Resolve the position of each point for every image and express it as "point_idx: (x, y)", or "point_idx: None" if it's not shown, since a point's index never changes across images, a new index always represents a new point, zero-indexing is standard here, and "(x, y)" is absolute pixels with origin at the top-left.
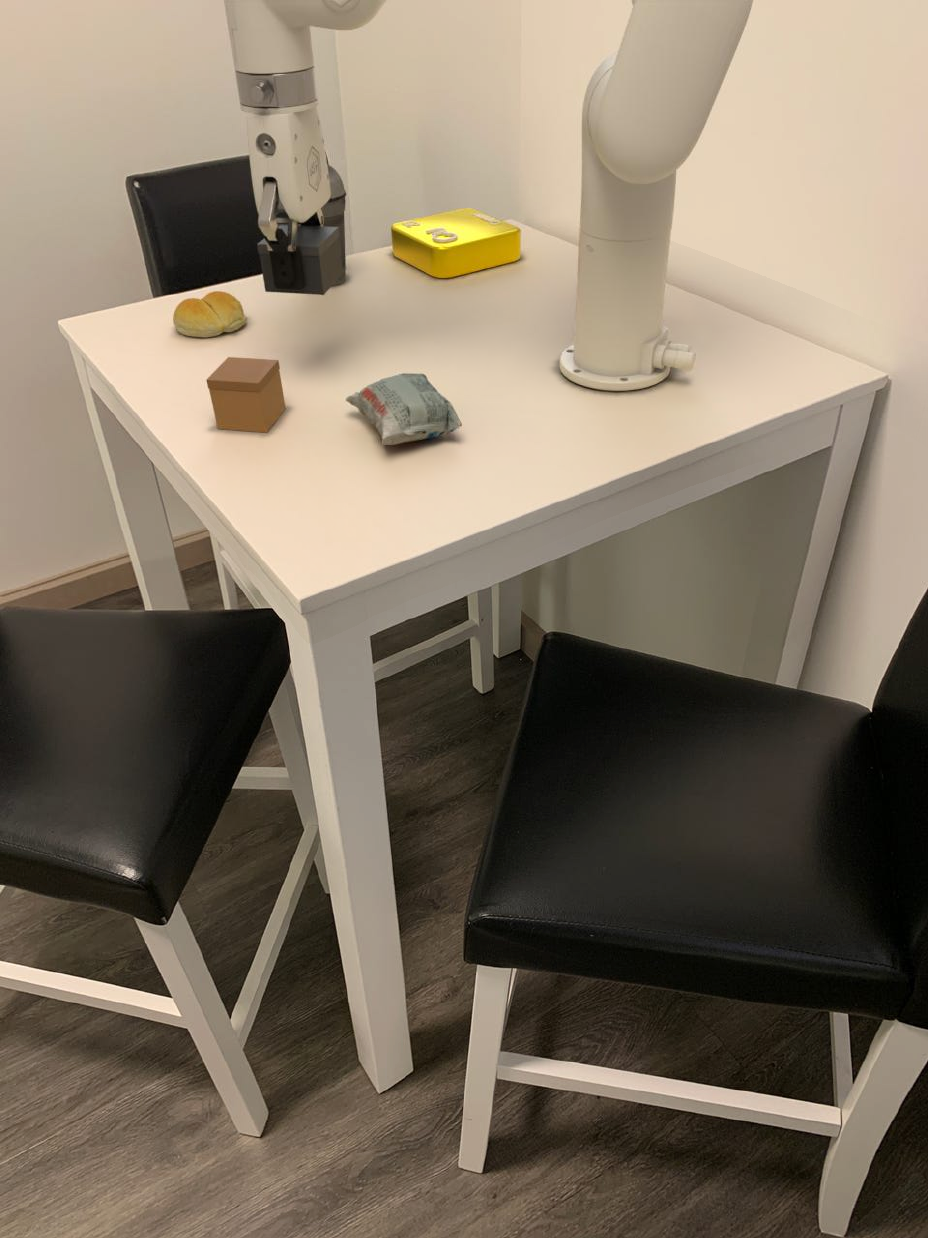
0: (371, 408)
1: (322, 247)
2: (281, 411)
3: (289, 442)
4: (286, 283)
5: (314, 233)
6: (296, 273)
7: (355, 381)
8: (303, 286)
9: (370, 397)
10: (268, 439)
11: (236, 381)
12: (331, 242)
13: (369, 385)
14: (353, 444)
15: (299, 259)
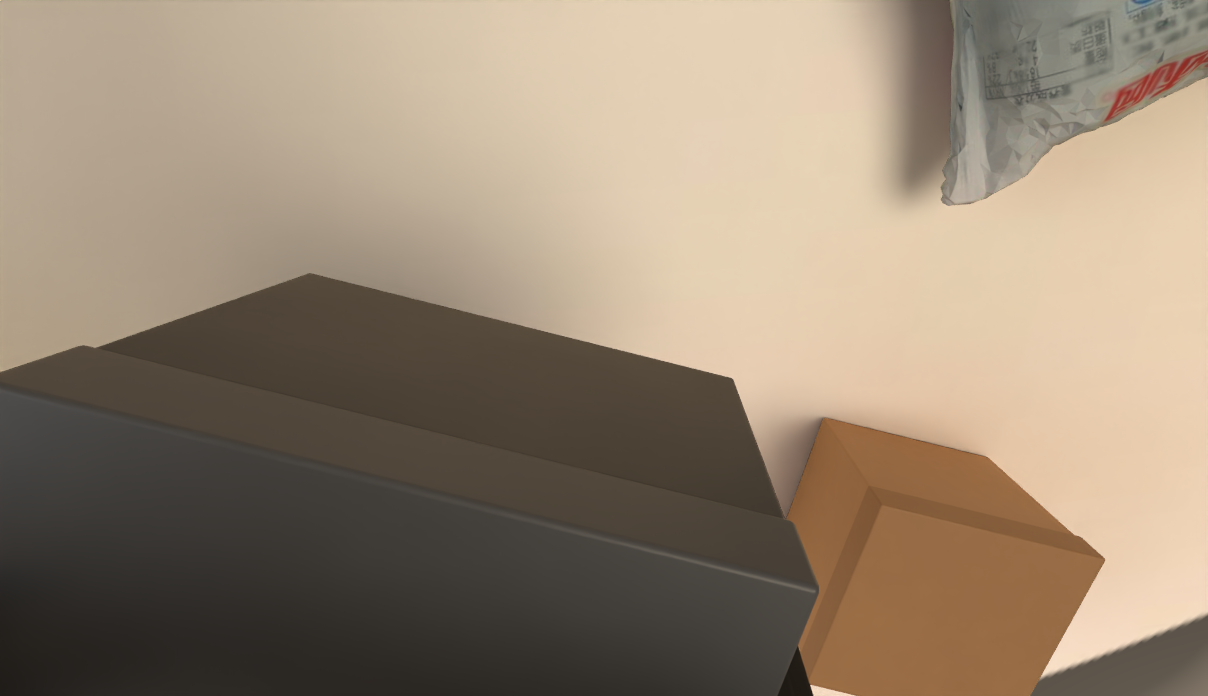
0: (1205, 73)
1: (677, 519)
2: (862, 429)
3: (1075, 383)
4: None
5: (281, 650)
6: None
7: (631, 191)
8: None
9: (1178, 74)
10: (1033, 448)
11: (1060, 635)
12: (362, 422)
13: (1082, 83)
14: (1159, 162)
15: (788, 685)
